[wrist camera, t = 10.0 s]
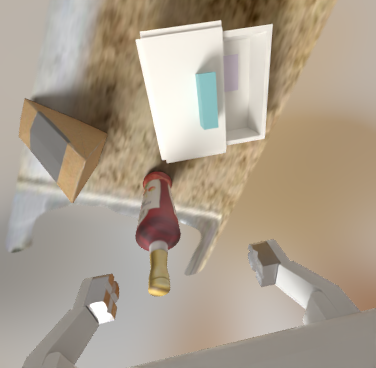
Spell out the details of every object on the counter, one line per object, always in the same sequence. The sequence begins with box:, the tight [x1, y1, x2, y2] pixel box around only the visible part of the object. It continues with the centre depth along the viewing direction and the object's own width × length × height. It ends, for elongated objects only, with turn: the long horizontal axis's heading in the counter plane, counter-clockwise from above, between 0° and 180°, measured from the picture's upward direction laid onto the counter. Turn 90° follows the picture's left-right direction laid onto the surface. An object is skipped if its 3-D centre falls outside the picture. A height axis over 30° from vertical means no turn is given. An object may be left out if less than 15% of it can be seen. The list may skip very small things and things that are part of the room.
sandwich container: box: [19, 98, 108, 203], centre depth 33 cm, size 9×15×15 cm, turn 62°
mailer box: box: [222, 24, 273, 145], centre depth 37 cm, size 18×11×7 cm, turn 7°
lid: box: [136, 20, 226, 163], centre depth 32 cm, size 20×13×6 cm, turn 7°
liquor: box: [136, 172, 181, 296], centre depth 36 cm, size 7×7×28 cm
